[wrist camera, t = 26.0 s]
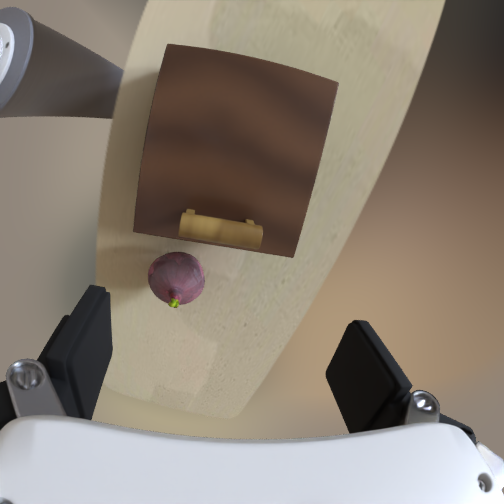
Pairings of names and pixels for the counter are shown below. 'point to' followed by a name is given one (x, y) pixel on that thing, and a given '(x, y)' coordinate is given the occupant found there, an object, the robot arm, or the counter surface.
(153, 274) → the vegetable
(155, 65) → the counter surface
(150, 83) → the counter surface
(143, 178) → the lid
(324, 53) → the counter surface
